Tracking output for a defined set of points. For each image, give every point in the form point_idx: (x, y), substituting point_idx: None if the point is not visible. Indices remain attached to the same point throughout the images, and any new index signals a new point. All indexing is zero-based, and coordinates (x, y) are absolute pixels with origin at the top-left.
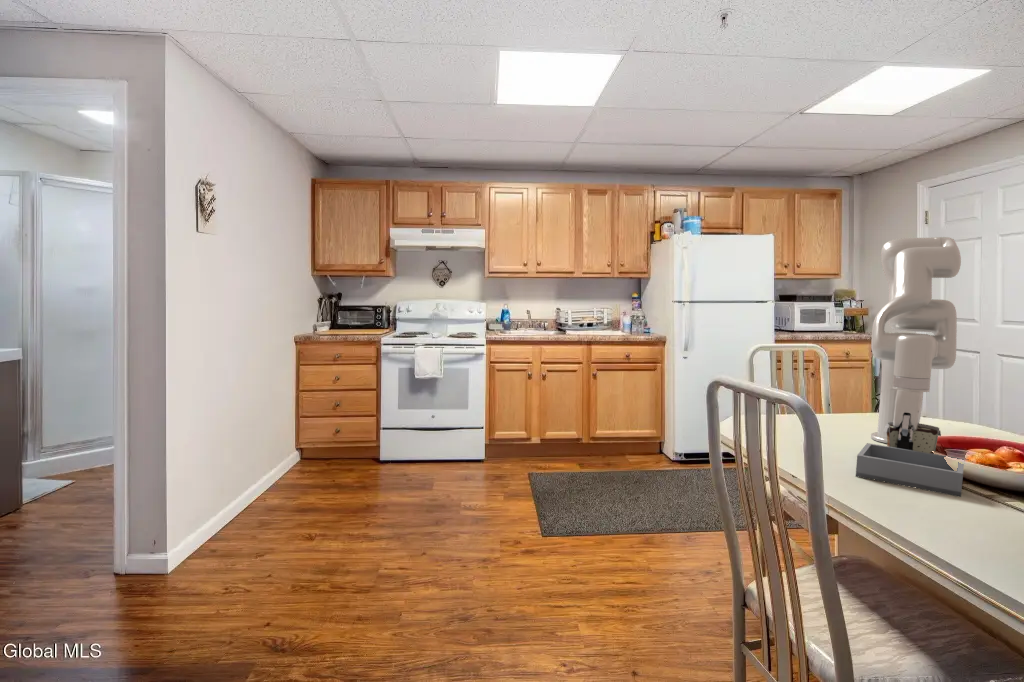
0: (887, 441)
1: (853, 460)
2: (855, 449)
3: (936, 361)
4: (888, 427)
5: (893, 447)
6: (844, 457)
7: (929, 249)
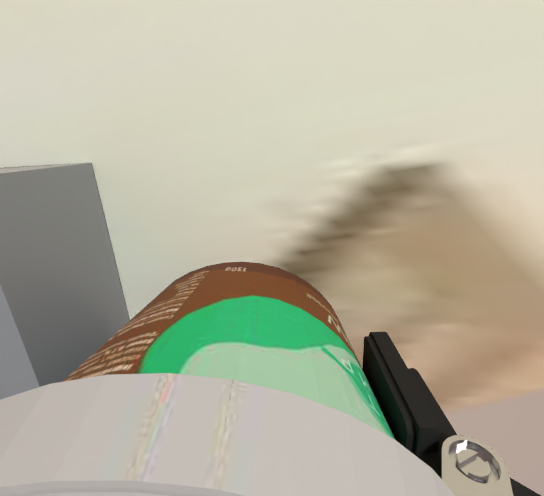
0: (138, 336)
1: (71, 85)
2: (454, 8)
3: None
4: None
5: (29, 379)
6: (96, 4)
7: None
